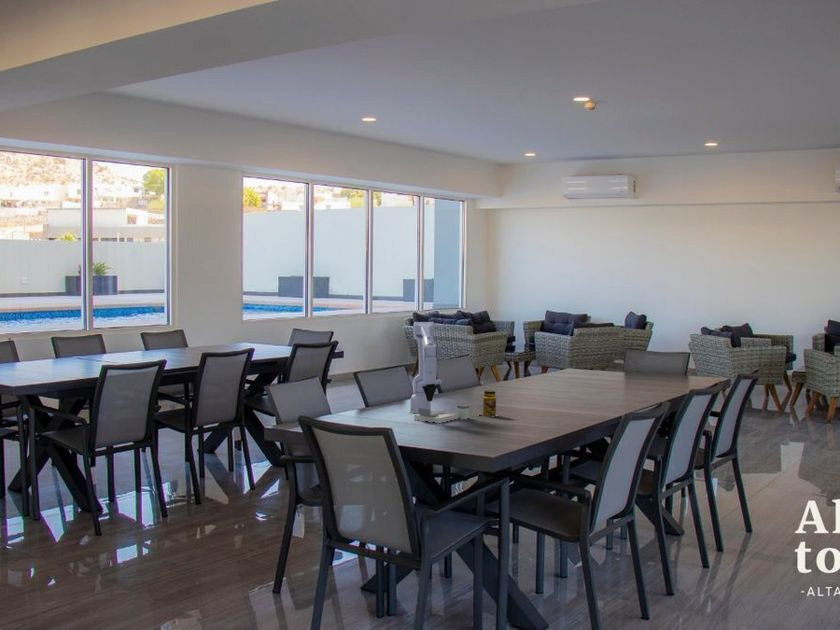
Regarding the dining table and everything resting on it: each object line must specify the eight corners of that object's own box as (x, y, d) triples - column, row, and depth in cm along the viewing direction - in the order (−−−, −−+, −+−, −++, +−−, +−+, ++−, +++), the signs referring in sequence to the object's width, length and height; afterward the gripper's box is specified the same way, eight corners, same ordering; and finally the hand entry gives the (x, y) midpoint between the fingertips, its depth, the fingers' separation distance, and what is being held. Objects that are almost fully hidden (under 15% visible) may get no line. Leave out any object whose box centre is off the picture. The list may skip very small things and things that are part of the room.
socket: (414, 420, 387) (414, 414, 387) (434, 415, 400) (434, 410, 400) (439, 423, 379) (439, 418, 379) (458, 418, 392) (458, 413, 392)
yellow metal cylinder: (492, 417, 396) (493, 392, 395) (476, 416, 400) (476, 391, 399) (499, 415, 402) (499, 390, 402) (483, 414, 406) (483, 389, 406)
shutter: (418, 415, 383) (418, 407, 383) (427, 413, 389) (427, 405, 389) (429, 417, 379) (429, 409, 379) (438, 415, 385) (439, 407, 385)
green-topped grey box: (457, 418, 392) (457, 405, 392) (461, 417, 396) (461, 404, 395) (464, 419, 390) (464, 406, 390) (468, 418, 393) (469, 405, 393)
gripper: (426, 373, 374) (425, 403, 375) (446, 370, 385) (446, 400, 386) (414, 372, 379) (413, 402, 380) (435, 369, 390) (434, 398, 391)
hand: (429, 401), depth 383 cm, fingers closed
